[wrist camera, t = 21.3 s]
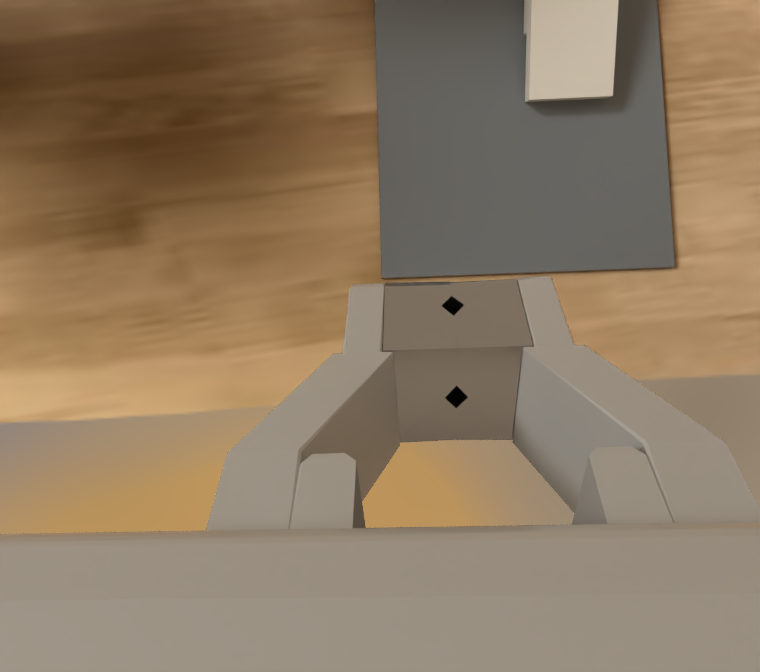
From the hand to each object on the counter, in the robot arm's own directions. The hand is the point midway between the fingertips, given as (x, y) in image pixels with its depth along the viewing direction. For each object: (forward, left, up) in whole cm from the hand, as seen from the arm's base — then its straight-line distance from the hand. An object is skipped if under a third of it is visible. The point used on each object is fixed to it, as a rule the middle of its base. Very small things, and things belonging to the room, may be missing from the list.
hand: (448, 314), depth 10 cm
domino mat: (+6, +25, -29) cm, 39 cm away
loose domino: (+9, +17, -28) cm, 34 cm away
